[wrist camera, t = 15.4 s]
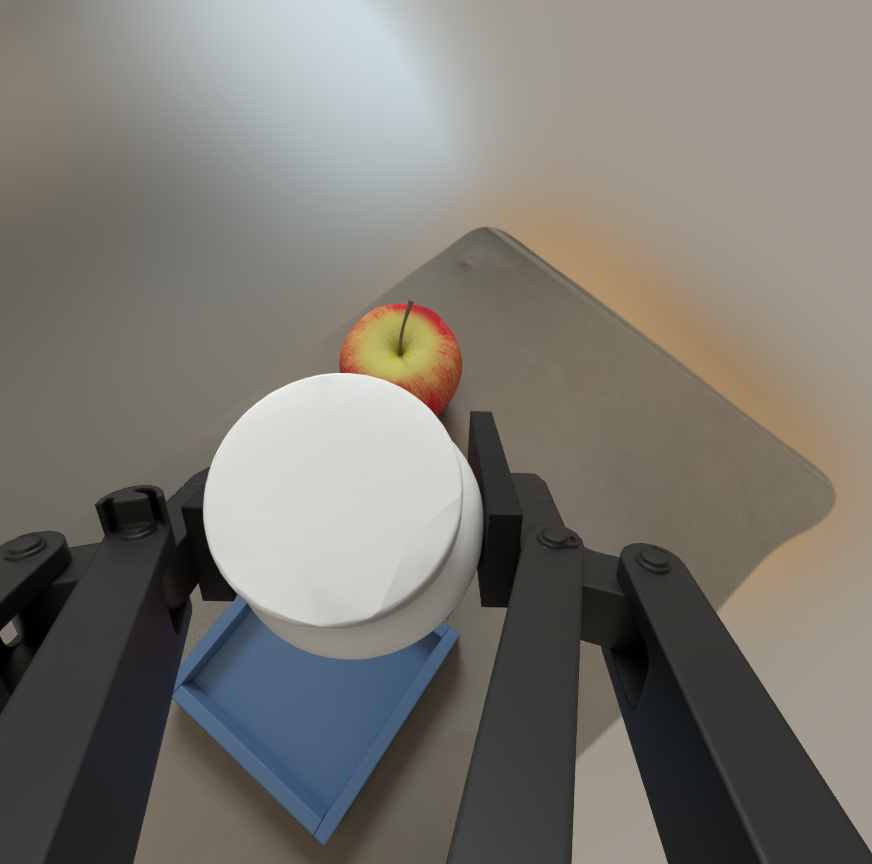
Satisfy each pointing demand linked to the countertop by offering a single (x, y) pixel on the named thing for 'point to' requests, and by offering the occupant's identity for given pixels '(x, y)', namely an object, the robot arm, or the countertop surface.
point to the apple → (406, 352)
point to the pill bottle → (344, 516)
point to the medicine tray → (303, 710)
